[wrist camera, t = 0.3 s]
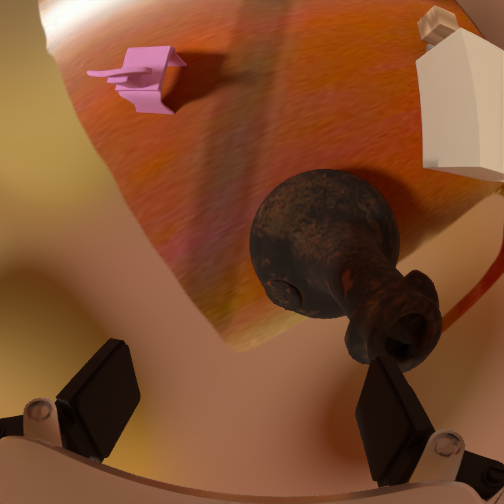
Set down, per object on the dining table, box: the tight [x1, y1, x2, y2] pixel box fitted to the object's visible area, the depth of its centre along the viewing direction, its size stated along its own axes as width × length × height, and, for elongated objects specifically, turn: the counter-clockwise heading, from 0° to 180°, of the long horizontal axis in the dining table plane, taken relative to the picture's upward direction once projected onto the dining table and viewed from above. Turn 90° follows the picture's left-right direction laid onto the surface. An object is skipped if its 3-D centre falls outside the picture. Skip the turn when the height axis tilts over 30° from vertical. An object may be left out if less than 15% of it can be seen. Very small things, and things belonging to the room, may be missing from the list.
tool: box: [417, 5, 459, 52], centre depth 27 cm, size 20×4×7 cm, turn 179°
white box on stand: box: [416, 28, 504, 182], centre depth 26 cm, size 18×14×14 cm
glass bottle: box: [249, 169, 442, 373], centre depth 25 cm, size 18×18×28 cm
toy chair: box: [87, 46, 187, 114], centre depth 28 cm, size 8×9×15 cm
